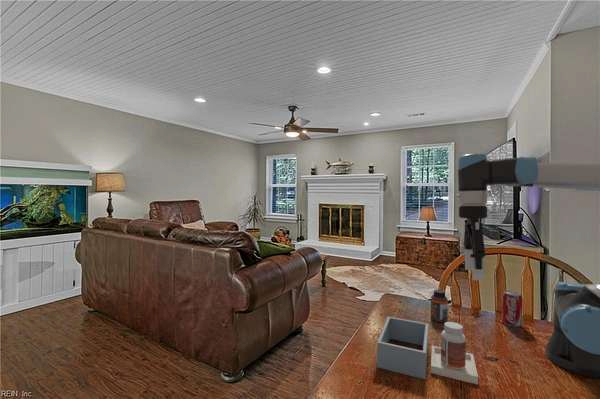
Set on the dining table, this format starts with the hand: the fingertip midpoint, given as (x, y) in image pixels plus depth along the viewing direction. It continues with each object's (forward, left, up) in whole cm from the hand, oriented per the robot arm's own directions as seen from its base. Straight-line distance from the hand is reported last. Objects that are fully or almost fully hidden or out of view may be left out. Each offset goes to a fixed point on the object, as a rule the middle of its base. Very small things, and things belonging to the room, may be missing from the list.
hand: (473, 274), depth 90 cm
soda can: (-16, -31, -25) cm, 42 cm away
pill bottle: (+6, +11, -24) cm, 27 cm away
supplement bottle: (+9, -23, -25) cm, 35 cm away
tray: (+6, +11, -24) cm, 27 cm away
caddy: (+19, +11, -24) cm, 32 cm away
